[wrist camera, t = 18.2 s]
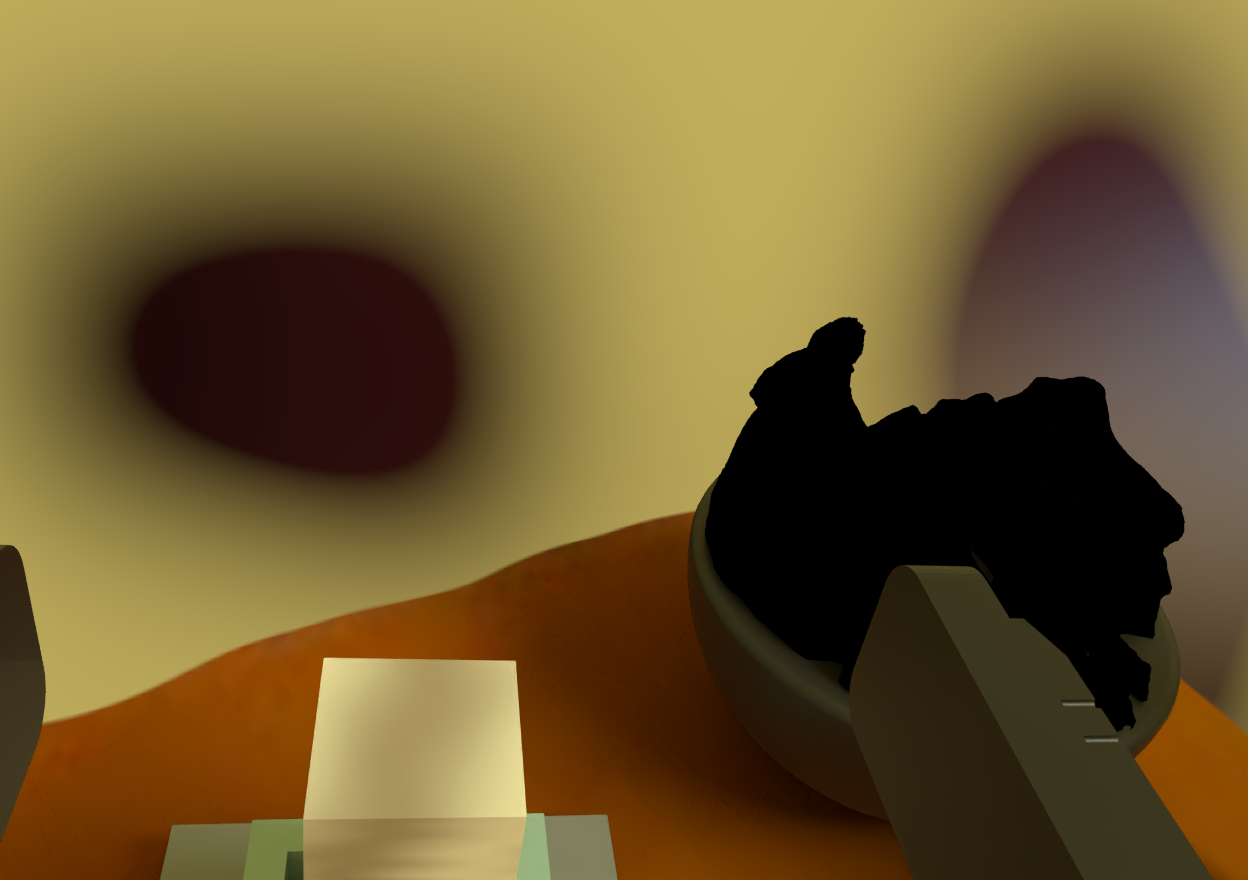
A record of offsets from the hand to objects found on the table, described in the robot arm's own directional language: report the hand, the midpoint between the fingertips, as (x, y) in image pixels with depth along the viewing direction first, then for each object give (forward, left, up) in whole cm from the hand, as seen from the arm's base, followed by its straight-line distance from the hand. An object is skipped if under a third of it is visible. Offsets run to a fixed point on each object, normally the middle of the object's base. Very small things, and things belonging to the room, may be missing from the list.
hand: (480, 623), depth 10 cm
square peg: (0, -11, -28) cm, 30 cm away
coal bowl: (-21, -24, -30) cm, 44 cm away
